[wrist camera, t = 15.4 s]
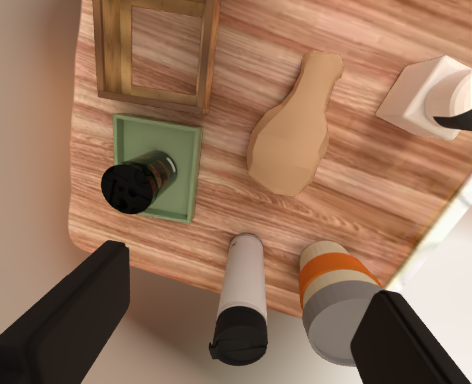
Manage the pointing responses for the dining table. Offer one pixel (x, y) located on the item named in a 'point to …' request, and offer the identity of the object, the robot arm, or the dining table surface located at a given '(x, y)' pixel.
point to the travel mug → (242, 305)
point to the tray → (171, 143)
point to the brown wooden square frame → (120, 53)
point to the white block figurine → (431, 99)
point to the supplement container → (138, 181)
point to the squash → (295, 129)
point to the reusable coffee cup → (333, 299)
